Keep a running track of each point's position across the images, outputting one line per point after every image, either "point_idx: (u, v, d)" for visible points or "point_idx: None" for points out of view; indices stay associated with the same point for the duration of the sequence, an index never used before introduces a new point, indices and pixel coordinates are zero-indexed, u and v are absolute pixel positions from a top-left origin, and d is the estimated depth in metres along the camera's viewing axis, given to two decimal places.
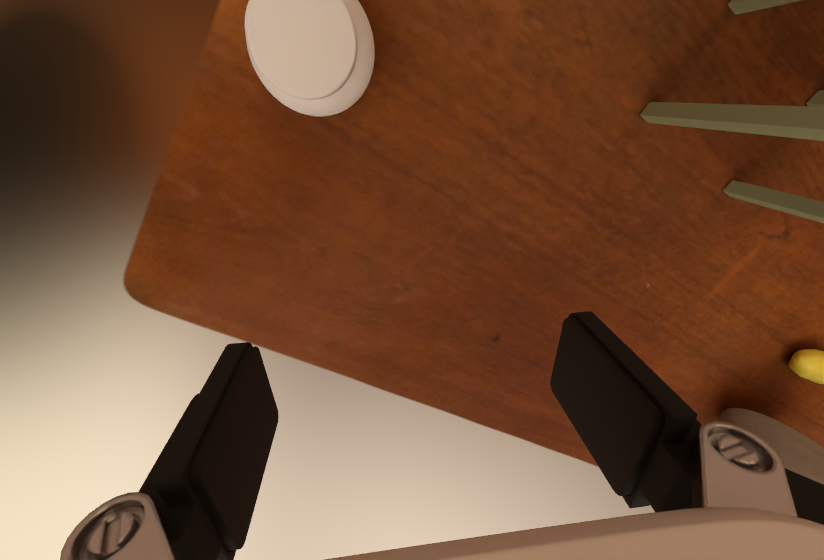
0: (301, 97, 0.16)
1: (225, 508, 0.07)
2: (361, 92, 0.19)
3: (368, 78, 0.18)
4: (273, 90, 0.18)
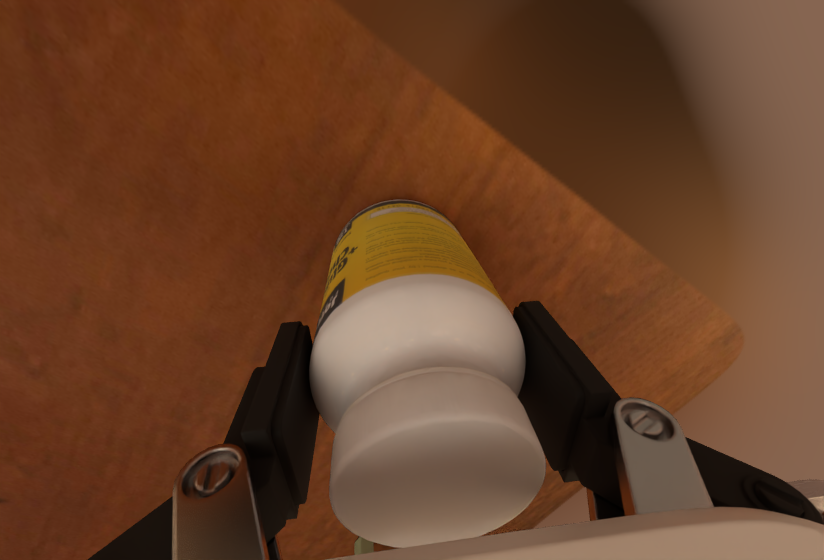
0: (331, 494, 0.07)
1: (294, 464, 0.08)
2: None
3: None
4: (346, 335, 0.09)
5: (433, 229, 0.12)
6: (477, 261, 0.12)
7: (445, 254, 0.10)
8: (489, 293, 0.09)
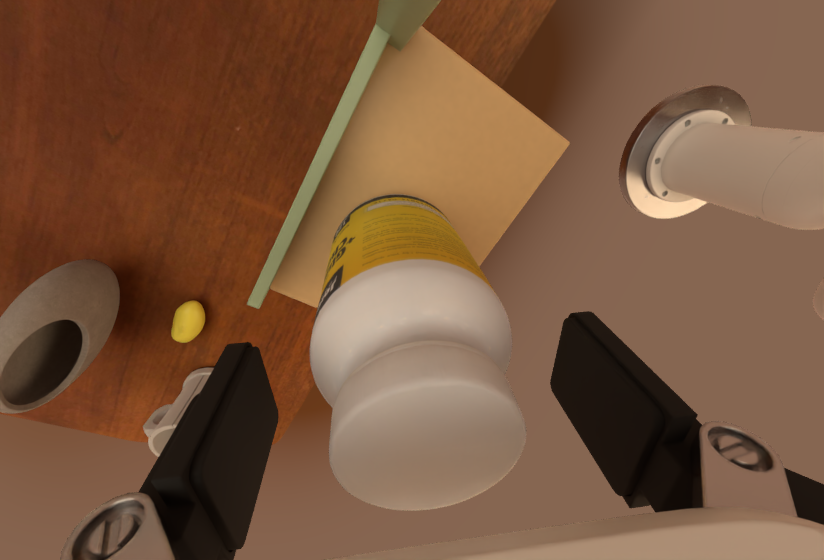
0: (331, 455, 0.08)
1: (225, 508, 0.07)
2: None
3: None
4: (344, 315, 0.09)
5: (426, 220, 0.13)
6: (468, 251, 0.13)
7: (437, 243, 0.11)
8: (477, 277, 0.10)
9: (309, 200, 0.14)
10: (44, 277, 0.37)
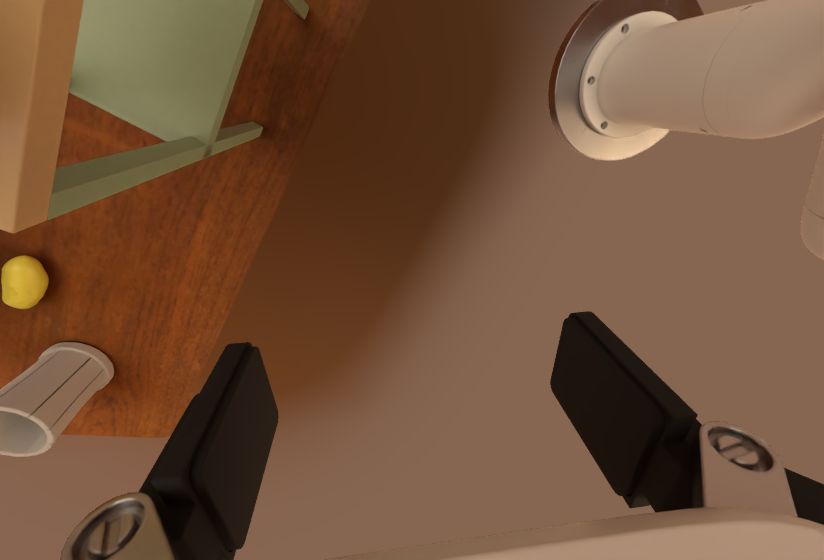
0: None
1: (225, 508, 0.07)
2: None
3: None
4: None
5: None
6: None
7: None
8: None
9: None
10: None
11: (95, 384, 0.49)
